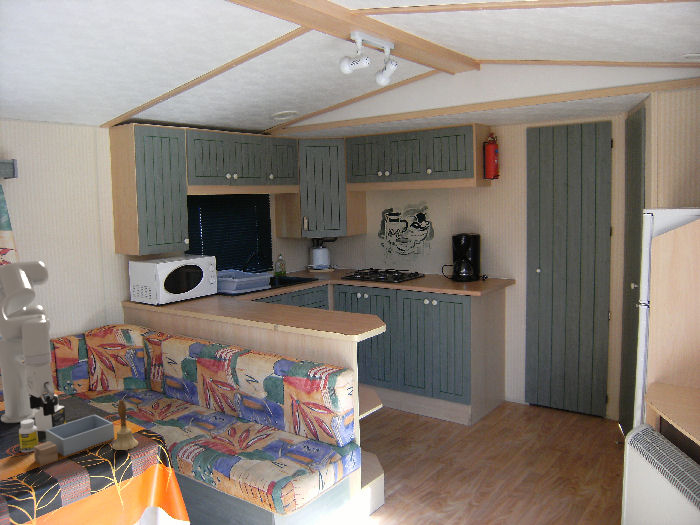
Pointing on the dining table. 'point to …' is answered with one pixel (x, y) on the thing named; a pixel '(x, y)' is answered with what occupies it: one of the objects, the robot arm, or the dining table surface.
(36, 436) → the supplement bottle
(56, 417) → the medicine bottle
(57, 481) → the dining table surface
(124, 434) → the hand bell
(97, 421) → the tote
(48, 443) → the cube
